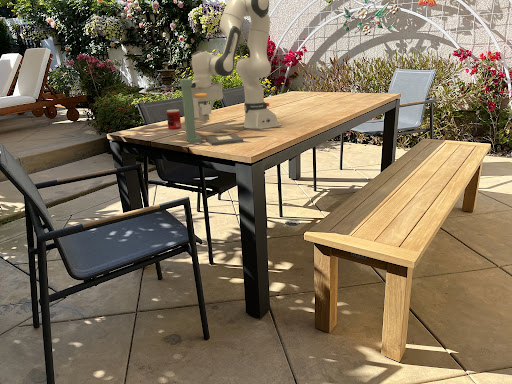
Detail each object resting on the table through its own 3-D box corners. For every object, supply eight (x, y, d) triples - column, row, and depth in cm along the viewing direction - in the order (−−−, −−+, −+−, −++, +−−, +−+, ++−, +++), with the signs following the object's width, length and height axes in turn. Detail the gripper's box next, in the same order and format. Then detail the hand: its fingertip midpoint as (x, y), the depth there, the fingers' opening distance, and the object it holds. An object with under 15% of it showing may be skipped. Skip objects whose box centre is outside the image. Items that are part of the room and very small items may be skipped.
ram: (207, 115, 212) (205, 93, 208) (209, 117, 207) (208, 94, 203) (192, 116, 210) (190, 94, 206) (195, 118, 205) (192, 95, 201)
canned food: (182, 127, 251) (180, 109, 248) (180, 129, 244) (178, 111, 240) (169, 127, 251) (167, 109, 248) (167, 130, 244) (165, 111, 240)
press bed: (235, 137, 217) (235, 133, 216) (243, 142, 204) (243, 138, 204) (206, 140, 212) (205, 136, 211) (212, 145, 199) (211, 142, 199)
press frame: (198, 139, 216) (193, 78, 205) (201, 141, 208) (196, 79, 198) (185, 140, 214) (179, 79, 203) (187, 143, 206) (181, 80, 196)
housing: (209, 112, 223) (208, 99, 220) (211, 113, 218) (210, 100, 216) (200, 113, 222) (199, 100, 219) (202, 114, 217) (200, 101, 215)
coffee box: (209, 119, 274) (208, 95, 269) (204, 121, 269) (202, 96, 263) (198, 119, 278) (196, 95, 273) (193, 120, 273) (190, 96, 268)
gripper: (220, 80, 220) (222, 106, 225) (182, 84, 214) (186, 110, 219) (223, 81, 215) (225, 108, 219) (184, 85, 209) (188, 112, 214)
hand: (205, 109), depth 219 cm, fingers closed on housing, 5 cm apart
